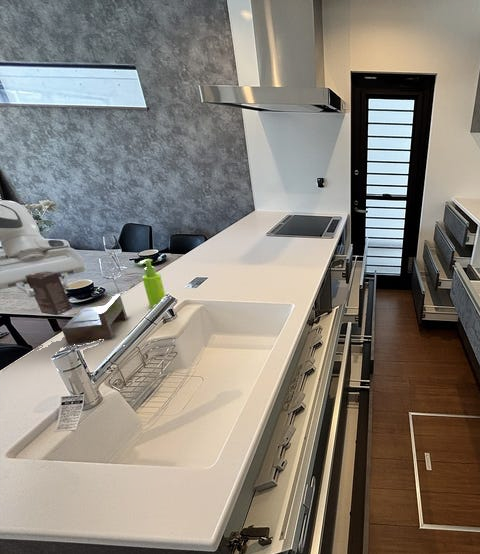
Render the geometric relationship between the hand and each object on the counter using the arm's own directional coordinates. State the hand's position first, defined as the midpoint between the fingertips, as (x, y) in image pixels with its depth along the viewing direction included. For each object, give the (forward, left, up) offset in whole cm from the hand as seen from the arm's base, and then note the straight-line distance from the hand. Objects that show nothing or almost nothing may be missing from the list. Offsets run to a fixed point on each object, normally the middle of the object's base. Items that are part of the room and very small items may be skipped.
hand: (49, 291), depth 87 cm
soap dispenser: (+16, +27, -22) cm, 38 cm away
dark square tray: (+2, +12, -21) cm, 25 cm away
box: (0, +1, -7) cm, 7 cm away
